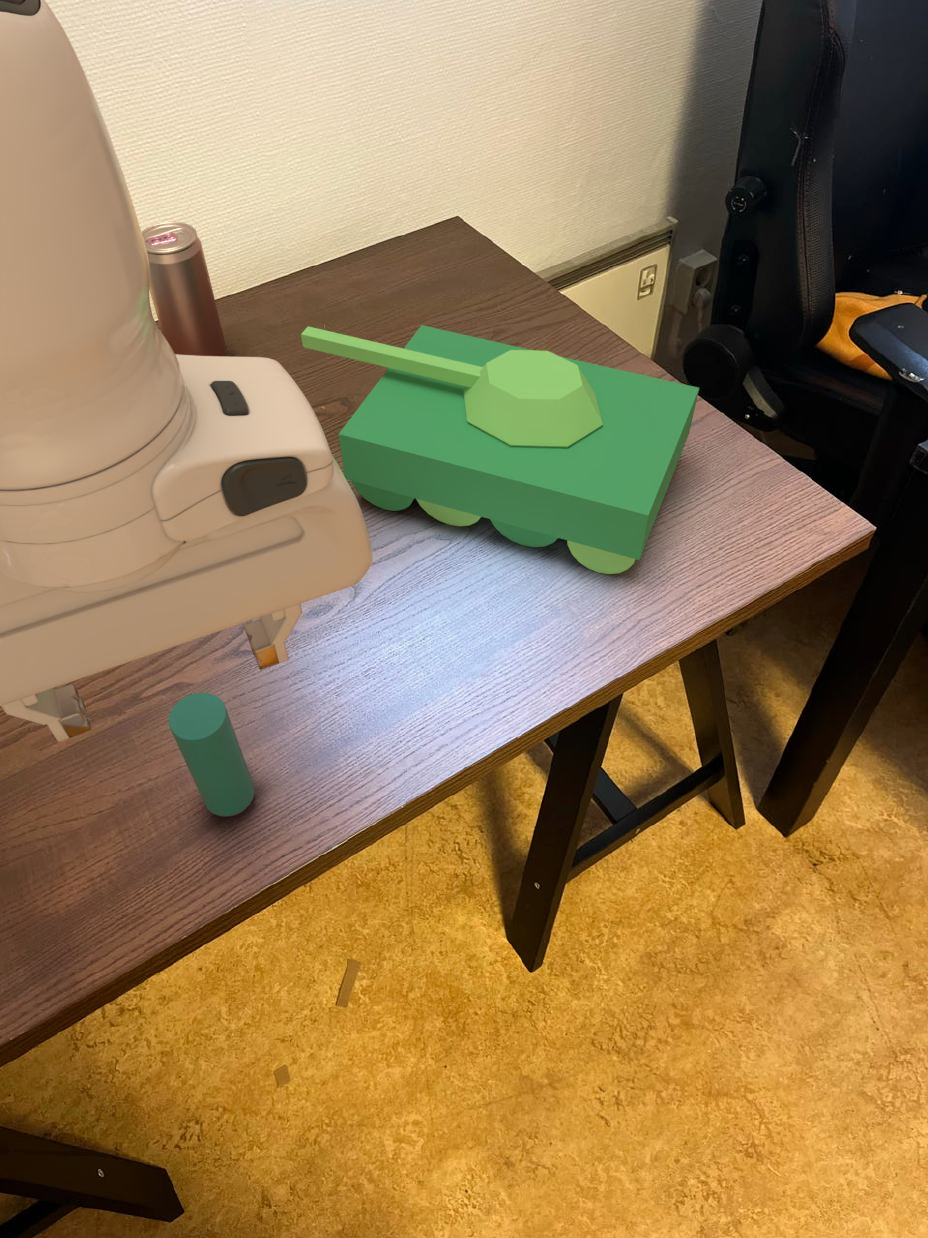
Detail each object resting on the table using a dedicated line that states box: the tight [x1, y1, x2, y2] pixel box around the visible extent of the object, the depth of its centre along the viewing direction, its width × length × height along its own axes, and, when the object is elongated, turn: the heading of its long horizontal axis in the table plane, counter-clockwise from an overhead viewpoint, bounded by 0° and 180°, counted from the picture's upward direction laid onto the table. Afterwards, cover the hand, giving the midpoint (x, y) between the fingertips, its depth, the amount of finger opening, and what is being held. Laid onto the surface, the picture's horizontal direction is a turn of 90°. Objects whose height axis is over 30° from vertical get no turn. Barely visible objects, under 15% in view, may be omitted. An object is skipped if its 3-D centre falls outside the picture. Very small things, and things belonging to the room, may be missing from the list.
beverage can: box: [141, 221, 229, 357], centre depth 95 cm, size 6×6×15 cm
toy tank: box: [300, 324, 700, 575], centre depth 85 cm, size 18×12×35 cm
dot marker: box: [168, 692, 256, 817], centre depth 64 cm, size 4×4×11 cm
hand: (174, 689), depth 45 cm, fingers open, 8 cm apart
